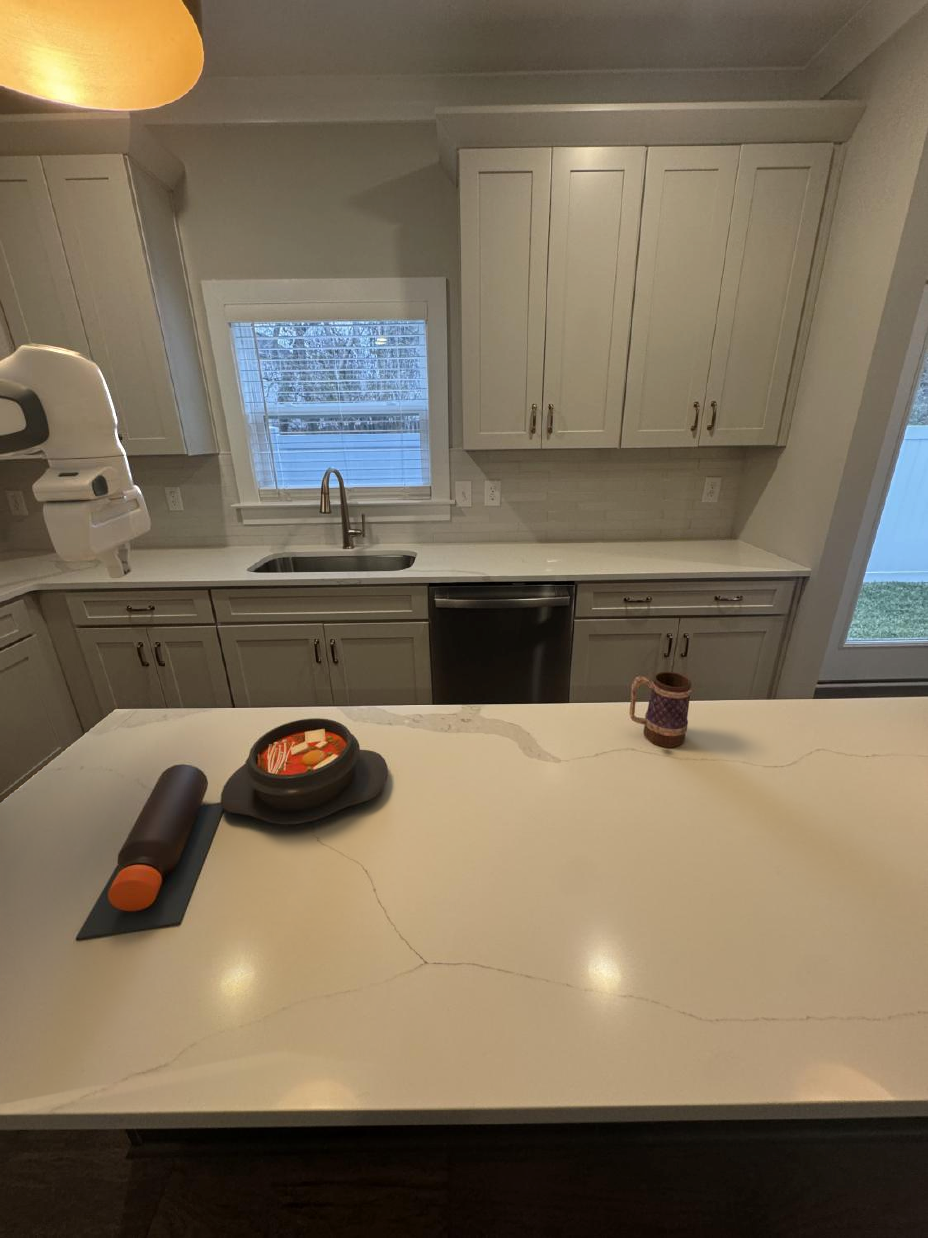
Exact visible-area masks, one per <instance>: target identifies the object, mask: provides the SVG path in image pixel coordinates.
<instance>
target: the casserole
mask: <svg viewBox="0 0 928 1238" xmlns="http://www.w3.org/2000/svg"><path fill="white" fill-rule="evenodd" d="M388 774H389V769H388V764H387V762H386V759H385V758H384V757H383V756H382V755H381V754H380V753H378V752H376V751H374V750H370V749H361V748H360V743H359V740H358V739H357V738H356V736H355V735H354V734H352V733H351V731H350V730H349V728H348V727H347V726H346V725H344V724H343V723H341V722H339V721H336V720H332V719H329V718H320V717H317V718H316V717H315V718H313V717H312V718H301V719H298V720H293V721H290V722H287V723H284V724H283V723H282V724H281V725H279V726H276V727H274V728H272V729H271V730H269V731H267V732H265V733H264V734H263V735H262V736H260V737H259V738H258V739H257V740H256V741H255V742H254V743H253V745H252V747H251V748H250V750H249V753H248V756H247V759H246V760H245V762H244V763H243V764H242V765H241V766H240V767H239V768H238V769H236V770H235V771H234V772H233V773H232V774H231V776H230V777H229V778H228V779H227V781H226V782H225V784H224V785H223V787H222V791H221V793H220V802H221V804H222V807H223V808H224V811H226V812H228V813H233V814H238V815H245V816H250V817H253V818H256V819H259V820H262V821H265V822H267V823H272V824H278V825H296V824H302V823H308V822H309V823H310V822H312V821H316V820H320V819H322V818H325V817H327V816H329V815H331V814H335V813H336V812H338V811H340V810H343V809H344V808H347V807H351V806H354V805H358V804H361V803H364V802H367V801H370V800H371V799H373V798H374V797H376V796H377V795H379V794H380V792H381V791H382V789H383V788H384V786H385V784H386V782H387V780H388Z"/></svg>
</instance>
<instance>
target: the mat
mask: <svg viewBox="0 0 928 1238" xmlns="http://www.w3.org/2000/svg"><path fill="white" fill-rule="evenodd" d="M224 811H225V809H224V808H223V807H222V804H221V801H220V802H212V803H205V804H201V806H200V809H199V811H198V814H197V816H196V819H195V821H194V824H193V827H192V829H191V832H190V834H189V837H188V839H187V842H186V845H185V847H184V850H183V852H182V855H181V857H180V860H179V863H178V865H177V866H176V868H175V870H174V871H173V872H172V873H171V874H169V875H168V876H167V877H165V878H163V879H162V883H161V886H160V888H159V891H158V893H157V896H156V898H155V900H154V901H153V903H152V904H151V905H150V906H148V907H146V908H145V909H141V910H137V911H125V910H121V909H119V908H117V907H115V906H114V905H113V904H112V903H111V902H110V901H109V898H108V893H109V890H110V888H111V886H112V884H113V882H114V880H115V878H116V876H117V875H118V873H119V872H120V869H119V866H118V864H117V865H116V867H115V868H114V870H113V871H112V874H111V875H110V877H109V879H108V881H107V882H106V884H105V886H104V887H103V889H102V891H101V893H100V895H99V896H98V898H97V900H96V901H95V903H94V905H93V907H92V909H91V910H90V912H89V914H88V916H87V917H86V919H85V921H84V922H83V924H82V926H81V928H80V929H79V931H78V933H77V934H76V936H75V940H76V941H82V940H88V939H94V938H95V939H96V938H101V937H107V936H113V935H114V936H115V935H120V934H127V933H135V932H139V931H146V930H153V929H159V928H166V927H167V928H168V927H172V926H173V927H174V926H180V925H181V924H182V921H183V919H184V917H185V914H186V911H187V909H188V907H189V903H190V901H191V898H192V895H193V893H194V890H195V887H196V885H197V882H198V880H199V876H200V874H201V871H202V869H203V866H204V864H205V861H206V859H207V856H208V853H209V850H210V849H211V845H212V843H213V840H214V837H215V835H216V833H217V831H218V827H219V824H220V823H221V819H222V817H223V814H224Z"/></svg>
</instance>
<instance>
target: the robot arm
mask: <svg viewBox="0 0 928 1238" xmlns="http://www.w3.org/2000/svg"><path fill="white" fill-rule="evenodd" d="M113 403H114V402H113V399H112V397H111V393H110V391H109V388H108V385H107V383H106V379H105V377H104V375H103V373H102V371H101V369H100V367H99V366H98V365H97V363H96V362H94V361H93V360H92V359H91V358H89V357H88V356H86V355H85V354H83V353H80V352H78V351H75V350H70V349H67V348H63V347H58V346H54V345H48V344H41V343H25V344H22V345H20V346H19V347H18V348H17V349H16V350H15V351H14V352H13V353H12V354H10V355H9V356H7V357H5V358H3V359H1V360H0V458H6V457H8V458H9V457H17V456H40V455H44V454H45V456H46V459H47V462H48V465H49V467H48V468H46V469H45V472H44V473H43V474H42V475H41V476H40V477H39V478H38V479H37V480H36V481H35V482H34V483H33V484H32V487H31V488H32V489H31V490H32V493H33V495H34V498H35V500H36V501H37V502H42V503H43V502H45V503H44V504H43V506H42V514H43V519H44V522H45V526H46V529H47V531H48V534H49V537H50V540H51V543H52V545H53V548H54V550H55V552H56V554H57V555H58V556H59V557H60V558H61V559H62V560H63V561H64V562H87V561H93V560H95V559H96V558H99V560H100V561H101V562H102V564H103V565H104V566H105V567H106V569H107V572H108V575H109V577H110V578H112V579H122V578H123V577H125V576H126V575H128V574H129V573H131V572H132V566H131V563H130V560H131V559H130V558H131V545H130V541H132V540H135V539H136V538H138V537H140V536H142V535H144V534H146V533H148V532H150V531H151V528H152V521H151V518H150V514H149V511H148V507H147V505H146V501H145V498H144V495H143V493H142V491H141V489H140V488H139V486H137V485H135V484H134V480H133V477H132V473H131V469H130V464H129V461H128V457H127V453H126V450H125V449H124V447H123V445H122V443H121V441H120V438H119V435H118V418H117V415H116V410H115V407H114V404H113Z"/></svg>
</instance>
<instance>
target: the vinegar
mask: <svg viewBox="0 0 928 1238" xmlns="http://www.w3.org/2000/svg"><path fill="white" fill-rule="evenodd" d="M208 787H209V781H208V778H207V775H206V774H205V772H204V771H203V770H201V768H199V767H197V766H194V765H192V764H184V763H182V764H181V763H180V764H175V765H172V766H169V767H167V769H165V770H164V771H163V772H161V774H160V776H159V778H158V779H157V781H156V783H155V784H154V787H153V789H152V790H151V792H150V794H149V796H148V798H147V800H146V801H145V803H144V806H143V807H142V809H141V811H140V813H139V815H138V817H137V818H136V820H135V822H134V824H133V826H132V828H131V830H130V831H129V834H128V835H127V838H126V839H125V841H124V843H123V845H122V847H121V848H120V850H119V852H118V855H117V865H118V866H119V869H120V872H119V873H118V875H117V876H116V878H115V880H114V882H113V884H112V886H111V888H110V890H109V893H108V898H109V901H110V902H111V903H112V904H113V905H114V906H115V907H117V908H119V909H121V910H125V911H137V910H141V909H145V908H146V907H148V906H150V905H151V904H152V903H153V901H154V900H155V898H156V896H157V893H158V891H159V888H160V886H161V883H162V879H163V878H165V877H167V876H168V875H169V874H171V873H172V872H173V871H174V870H175V868H176V866H177V865H178V863H179V860H180V857H181V855H182V852H183V850H184V847H185V845H186V842H187V839H188V837H189V834H190V832H191V829H192V827H193V824H194V821H195V819H196V816H197V814H198V811H199V809H200V806H201V805H202V804H203V802H204V798H205V795H206V793H207V791H208Z"/></svg>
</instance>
